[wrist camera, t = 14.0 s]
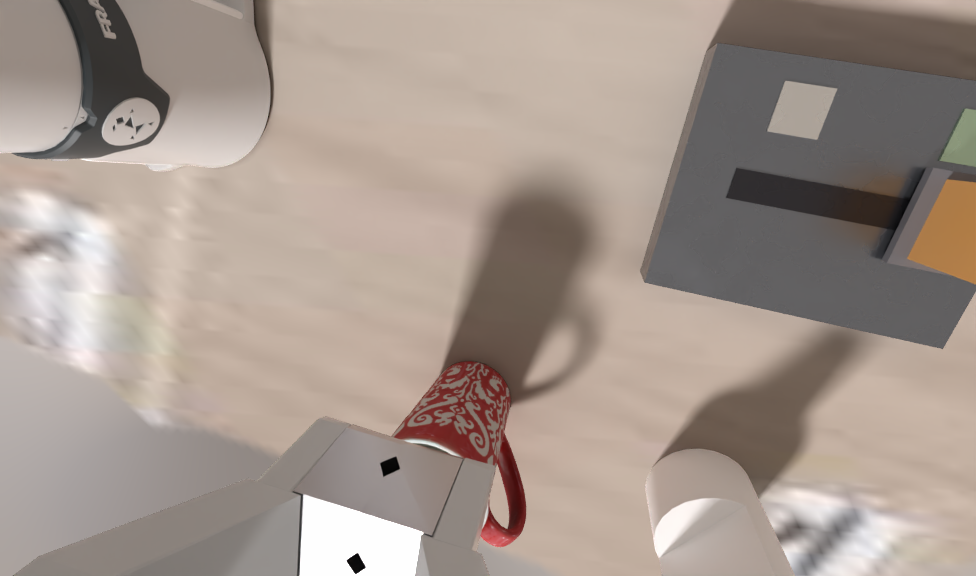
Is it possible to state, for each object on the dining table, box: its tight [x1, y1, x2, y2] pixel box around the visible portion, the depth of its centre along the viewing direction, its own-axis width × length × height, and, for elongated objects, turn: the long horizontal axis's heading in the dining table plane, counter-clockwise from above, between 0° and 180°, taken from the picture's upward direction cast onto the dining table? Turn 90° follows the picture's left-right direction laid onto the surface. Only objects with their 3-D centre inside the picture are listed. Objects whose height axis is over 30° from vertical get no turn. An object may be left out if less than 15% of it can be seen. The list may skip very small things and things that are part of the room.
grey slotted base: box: [640, 43, 976, 349], centre depth 31 cm, size 20×16×3 cm
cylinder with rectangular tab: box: [645, 449, 795, 576], centre depth 36 cm, size 9×9×12 cm
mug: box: [391, 361, 526, 547], centre depth 37 cm, size 13×9×14 cm
